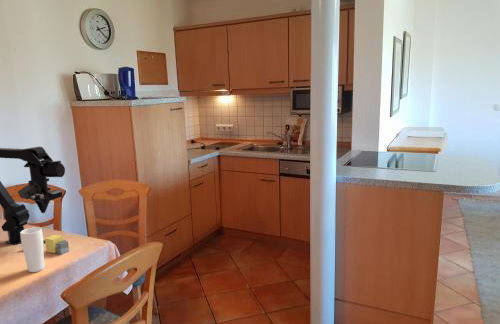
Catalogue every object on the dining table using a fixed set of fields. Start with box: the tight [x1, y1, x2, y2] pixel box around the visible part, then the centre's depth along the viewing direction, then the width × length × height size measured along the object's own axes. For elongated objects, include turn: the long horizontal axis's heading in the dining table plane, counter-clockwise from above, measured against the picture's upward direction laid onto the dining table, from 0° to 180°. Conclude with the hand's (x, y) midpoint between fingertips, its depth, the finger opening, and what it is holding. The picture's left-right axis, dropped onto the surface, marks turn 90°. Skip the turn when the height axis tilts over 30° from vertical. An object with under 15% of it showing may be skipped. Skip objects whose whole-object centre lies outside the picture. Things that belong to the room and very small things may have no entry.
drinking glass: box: [20, 226, 45, 273], centre depth 131 cm, size 7×7×15 cm
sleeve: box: [44, 234, 64, 254], centre depth 147 cm, size 4×4×6 cm
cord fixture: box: [43, 239, 70, 256], centre depth 148 cm, size 18×6×4 cm, turn 68°
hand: (43, 212), depth 155 cm, fingers closed
